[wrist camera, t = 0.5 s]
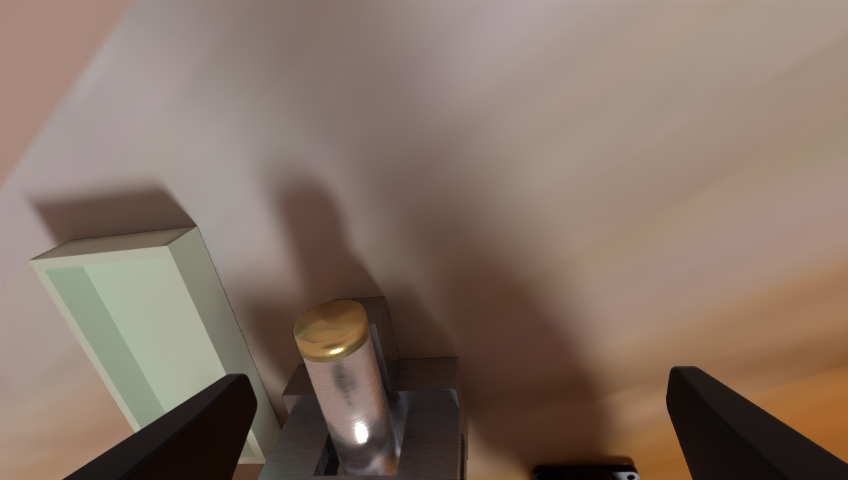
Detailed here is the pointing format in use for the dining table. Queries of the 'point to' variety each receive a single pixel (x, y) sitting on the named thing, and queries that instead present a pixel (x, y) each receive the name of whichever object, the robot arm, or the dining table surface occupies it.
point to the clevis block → (409, 406)
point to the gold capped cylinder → (349, 387)
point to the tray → (154, 323)
